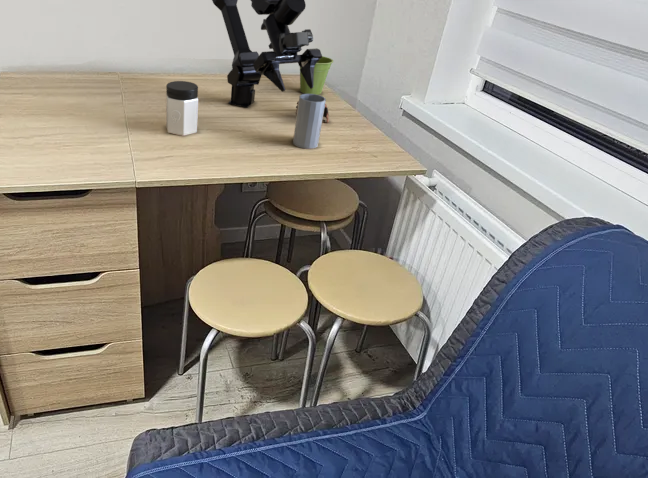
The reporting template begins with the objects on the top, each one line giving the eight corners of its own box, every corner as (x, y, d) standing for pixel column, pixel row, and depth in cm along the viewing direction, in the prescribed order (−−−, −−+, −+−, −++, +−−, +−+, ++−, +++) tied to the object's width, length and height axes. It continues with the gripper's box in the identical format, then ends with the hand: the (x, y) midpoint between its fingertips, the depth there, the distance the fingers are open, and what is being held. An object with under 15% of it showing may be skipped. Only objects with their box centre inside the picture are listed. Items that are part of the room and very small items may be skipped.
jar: (159, 131, 138) (159, 86, 131) (172, 122, 145) (172, 78, 138) (191, 138, 136) (192, 92, 130) (202, 127, 143) (204, 84, 136)
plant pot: (333, 92, 180) (339, 59, 174) (318, 100, 171) (324, 65, 165) (302, 84, 185) (307, 52, 179) (287, 92, 176) (291, 58, 170)
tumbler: (293, 147, 136) (300, 100, 129) (292, 137, 142) (298, 92, 135) (319, 149, 136) (327, 103, 129) (316, 140, 142) (324, 94, 135)
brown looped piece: (331, 128, 152) (323, 105, 146) (300, 137, 155) (291, 115, 150) (330, 105, 160) (322, 82, 154) (301, 114, 163) (292, 92, 158)
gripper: (264, 18, 127) (283, 76, 125) (324, 16, 135) (343, 71, 134) (244, 43, 137) (262, 98, 135) (301, 40, 145) (319, 92, 144)
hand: (298, 89), depth 136 cm, fingers open, 9 cm apart
